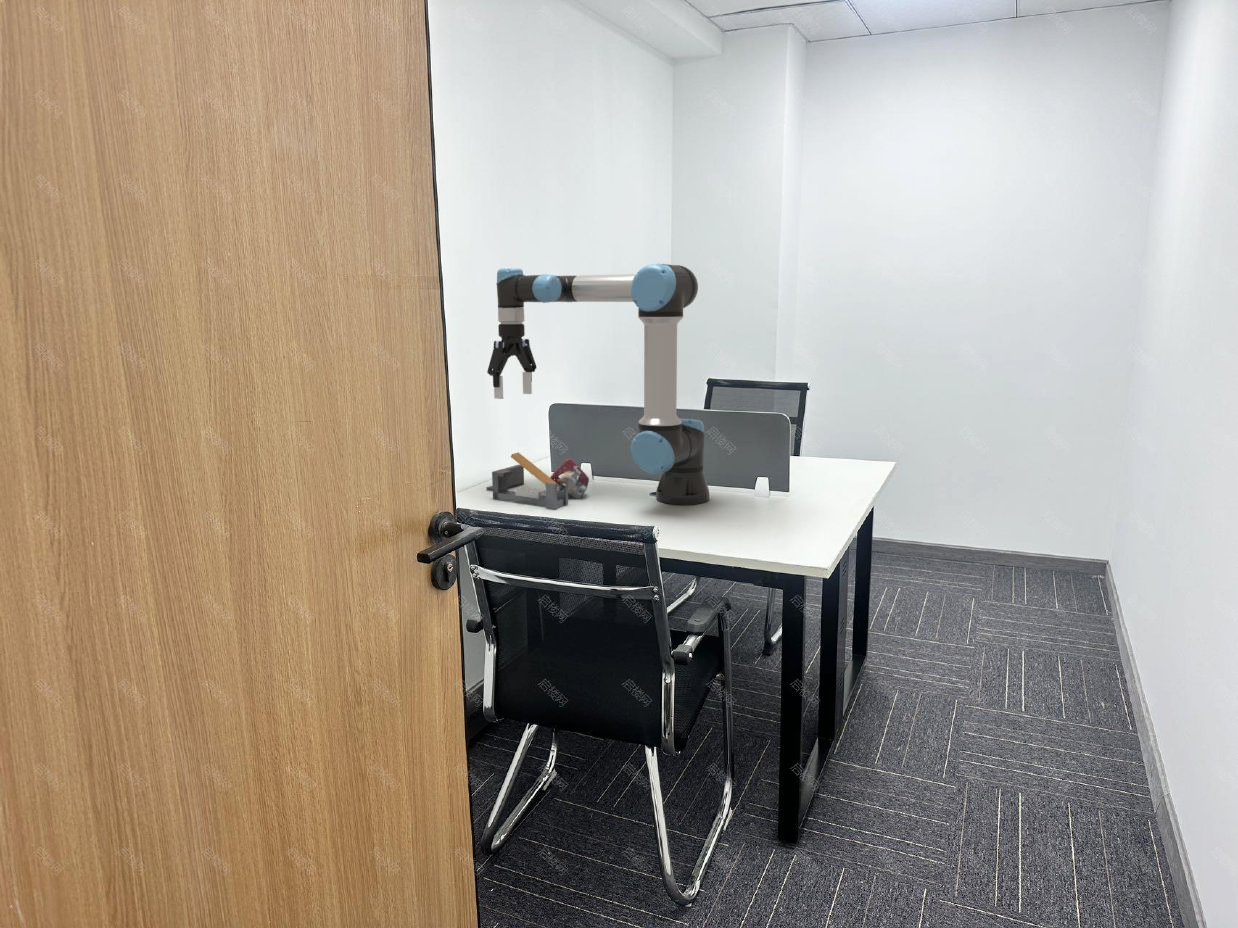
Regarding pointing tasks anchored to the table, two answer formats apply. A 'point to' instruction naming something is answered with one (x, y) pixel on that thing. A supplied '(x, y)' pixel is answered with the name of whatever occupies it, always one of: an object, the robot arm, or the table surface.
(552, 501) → the clip base
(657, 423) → the robot arm
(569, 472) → the brake caliper
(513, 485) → the bracket
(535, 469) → the tan wooden flat bar
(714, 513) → the table surface
